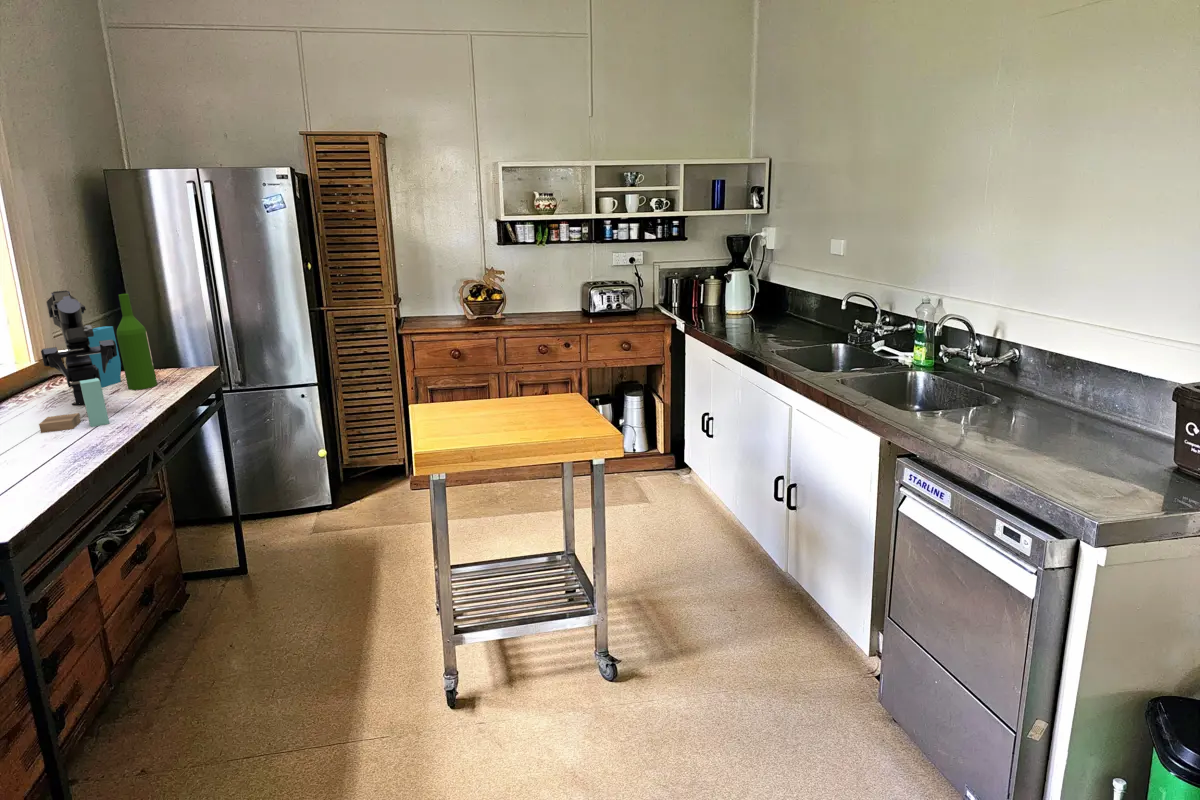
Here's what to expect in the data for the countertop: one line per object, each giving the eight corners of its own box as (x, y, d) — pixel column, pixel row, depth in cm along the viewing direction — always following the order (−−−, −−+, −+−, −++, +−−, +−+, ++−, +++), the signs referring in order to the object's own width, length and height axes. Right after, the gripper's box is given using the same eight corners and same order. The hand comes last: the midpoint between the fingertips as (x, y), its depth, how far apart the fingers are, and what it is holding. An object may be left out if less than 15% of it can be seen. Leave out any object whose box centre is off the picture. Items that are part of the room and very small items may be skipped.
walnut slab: (50, 426, 227) (47, 416, 226) (81, 422, 230) (79, 413, 229) (41, 434, 220) (38, 424, 219) (73, 430, 222) (71, 420, 221)
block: (97, 389, 270) (84, 332, 265) (86, 388, 271) (73, 332, 266) (125, 380, 281) (114, 326, 276) (115, 380, 282) (103, 326, 277)
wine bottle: (162, 385, 271) (143, 292, 262) (136, 391, 264) (116, 296, 255) (149, 382, 276) (130, 292, 267) (123, 388, 269) (102, 295, 260)
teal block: (89, 423, 227) (79, 381, 223) (107, 420, 229) (97, 378, 226) (91, 427, 223) (80, 383, 220) (109, 423, 226) (99, 380, 222)
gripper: (33, 321, 223) (45, 364, 217) (108, 313, 234) (121, 353, 228) (38, 344, 231) (49, 386, 225) (110, 335, 242) (123, 375, 236)
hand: (86, 375), depth 229 cm, fingers open, 9 cm apart
